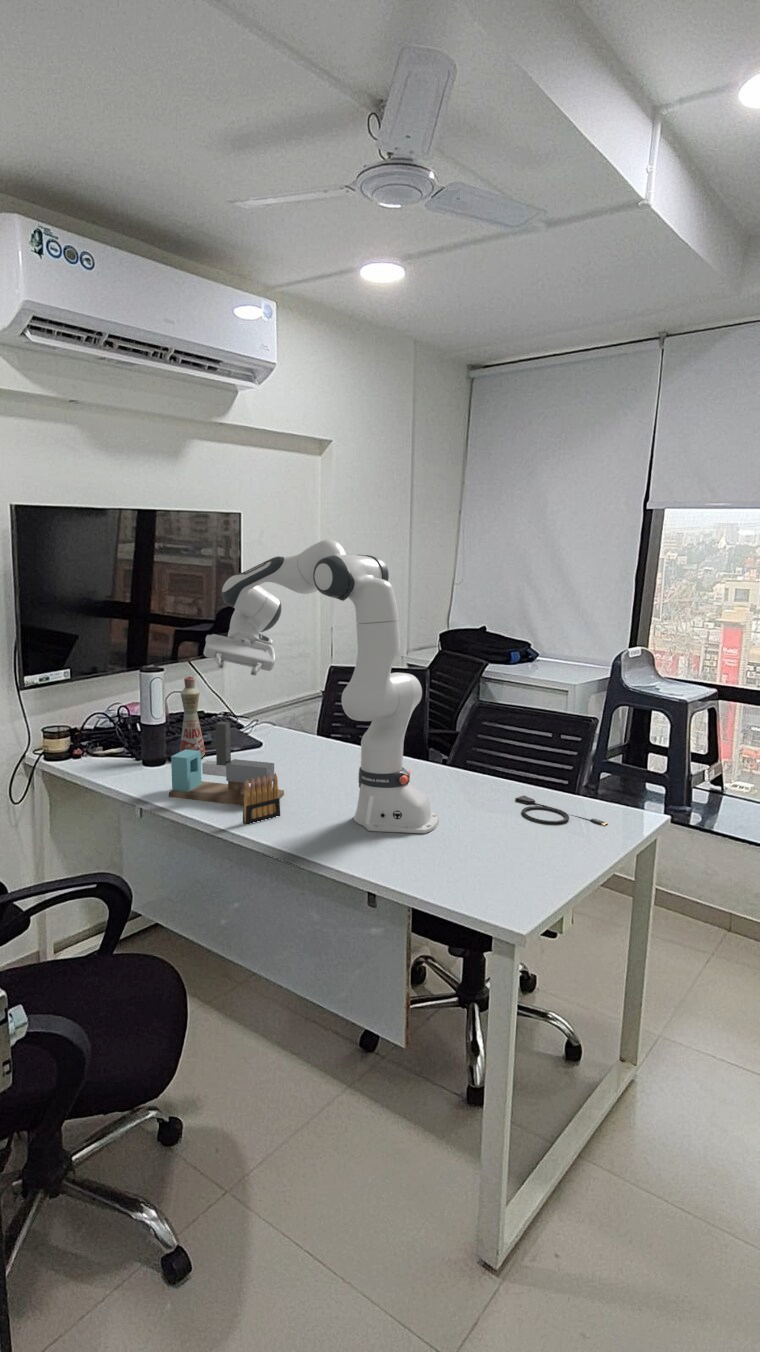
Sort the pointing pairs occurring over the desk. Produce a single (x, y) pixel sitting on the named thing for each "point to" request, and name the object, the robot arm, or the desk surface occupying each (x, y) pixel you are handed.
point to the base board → (216, 793)
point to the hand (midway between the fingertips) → (237, 669)
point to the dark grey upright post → (220, 751)
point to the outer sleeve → (248, 771)
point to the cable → (530, 801)
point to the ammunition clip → (261, 800)
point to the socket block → (186, 770)
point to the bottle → (191, 718)
